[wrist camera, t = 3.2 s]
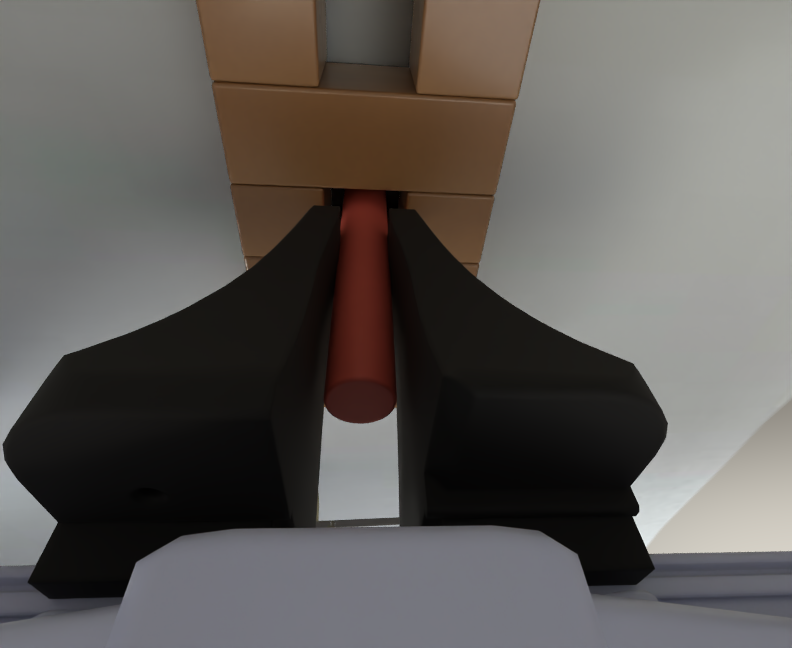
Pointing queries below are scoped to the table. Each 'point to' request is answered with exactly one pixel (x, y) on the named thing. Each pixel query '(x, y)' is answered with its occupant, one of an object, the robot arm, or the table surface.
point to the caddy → (365, 114)
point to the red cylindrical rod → (362, 315)
